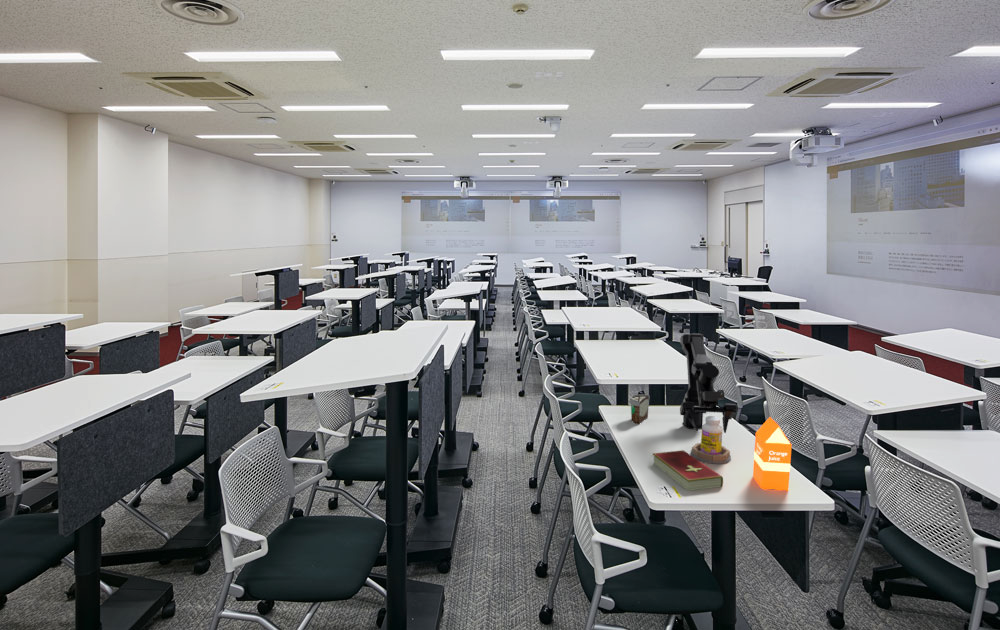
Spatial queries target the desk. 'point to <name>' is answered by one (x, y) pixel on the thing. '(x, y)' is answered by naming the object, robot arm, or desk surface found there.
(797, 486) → the desk surface
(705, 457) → the coaster ring
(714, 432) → the supplement bottle
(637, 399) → the food container
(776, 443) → the orange juice
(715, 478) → the hardcover book
